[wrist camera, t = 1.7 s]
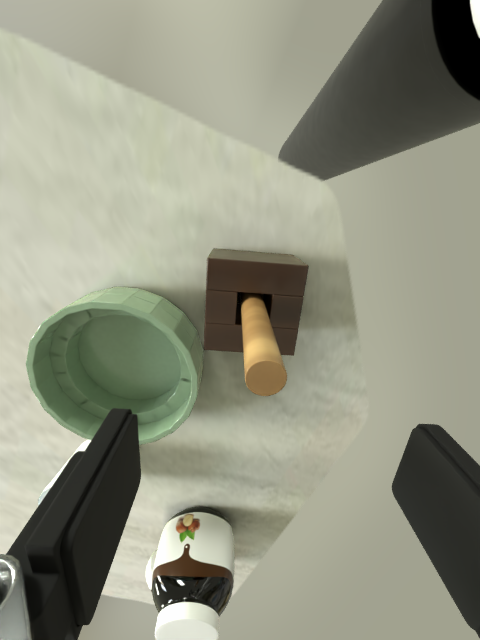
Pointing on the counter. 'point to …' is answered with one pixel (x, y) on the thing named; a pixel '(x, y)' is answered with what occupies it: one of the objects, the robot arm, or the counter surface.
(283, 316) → the stick holder
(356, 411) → the counter surface
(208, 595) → the spread jar
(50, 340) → the bowl
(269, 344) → the stirring stick
